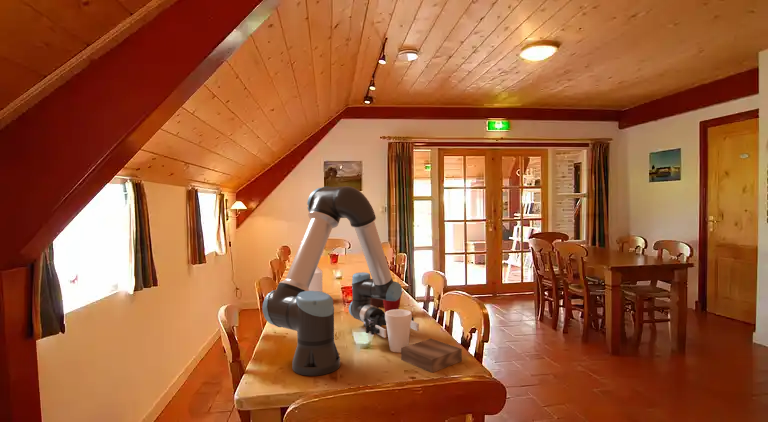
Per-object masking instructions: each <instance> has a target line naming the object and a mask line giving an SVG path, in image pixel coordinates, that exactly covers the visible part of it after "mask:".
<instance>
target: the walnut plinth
mask: <svg viewBox="0 0 768 422" xmlns="http://www.w3.org/2000/svg"><path fill="white" fill-rule="evenodd" d="M462 351H463V349H462V348H460V347H457V346H455V345H452V344H449V343H445V342H443V341H440V340H436V339H434V338H428V339H424V340H422V341H418V342H415V343H412V344H408V346H405V347H402V348H401V352H400V359H401V361H403V362H405V363H408V364H410V365H413V366H416V367H418V368H420V369H422V370H425V371H427V372H430V373H435V372H437V371H441V370H442V369H445V368H447V367H450V366H452V365H455V364H457V363H460V362H462V360H463V359H462V357H463V356H462V355H463V354H462Z"/></svg>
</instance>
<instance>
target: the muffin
mask: <svg viewBox="0 0 768 422" xmlns="http://www.w3.org/2000/svg"><path fill="white" fill-rule="evenodd" d="M371 305H372V306H375V307H377V308H379V309H380V308H382V307H383V308H384V304H383V300H381V299H375V298H371Z"/></svg>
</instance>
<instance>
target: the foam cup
mask: <svg viewBox="0 0 768 422" xmlns="http://www.w3.org/2000/svg"><path fill="white" fill-rule="evenodd" d="M384 313H385V321H386V325H385V326H386V334H387V337H388V338H387V340H388V345H389V351H391V353H393V352H394V353H401V348H402V347H405V346H409V343H410V332H411V328H410V325H411V320H412V317H413V315H412V311H410V310H408V309H403V308H402V309H400V308H399V309H396V310H389V311H386V312H385V311H384Z"/></svg>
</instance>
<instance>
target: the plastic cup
mask: <svg viewBox="0 0 768 422" xmlns="http://www.w3.org/2000/svg"><path fill="white" fill-rule="evenodd" d="M403 292H404V289H403V288H402V293H403ZM401 299H402V295H401V296H400V298H399V299H398V300H397V301H386V300H383V304H384V305H383V308H384V313H385V312H386V311H389V310H396V309H400V304H401Z"/></svg>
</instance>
